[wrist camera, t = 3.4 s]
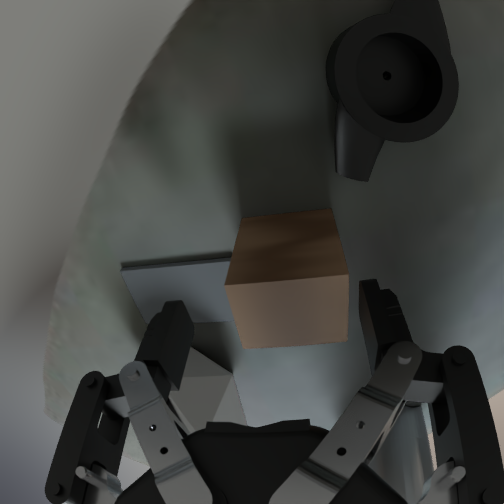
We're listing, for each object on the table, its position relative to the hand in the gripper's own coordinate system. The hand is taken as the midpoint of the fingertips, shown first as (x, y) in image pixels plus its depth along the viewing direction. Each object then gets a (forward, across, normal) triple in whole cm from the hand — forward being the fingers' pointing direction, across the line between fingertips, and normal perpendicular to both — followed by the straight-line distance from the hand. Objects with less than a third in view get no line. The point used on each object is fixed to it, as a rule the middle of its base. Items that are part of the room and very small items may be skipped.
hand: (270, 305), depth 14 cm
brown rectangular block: (+6, -1, 0) cm, 6 cm away
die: (+6, +8, +11) cm, 15 cm away
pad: (+5, +7, +3) cm, 9 cm away
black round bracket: (+6, -7, -8) cm, 13 cm away
